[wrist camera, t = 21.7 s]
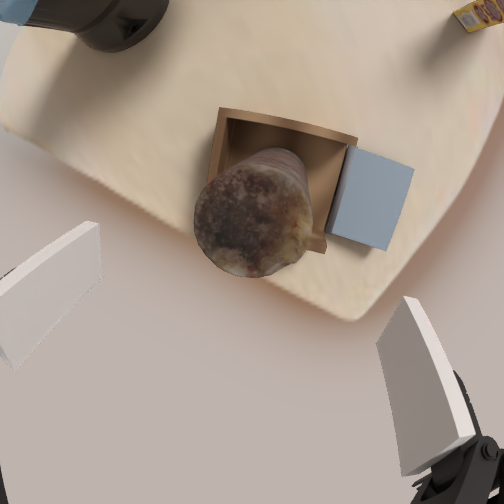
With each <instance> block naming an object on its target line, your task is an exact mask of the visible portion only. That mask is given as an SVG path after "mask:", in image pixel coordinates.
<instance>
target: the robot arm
mask: <svg viewBox="0 0 504 504" xmlns="http://www.w3.org/2000/svg"><path fill="white" fill-rule="evenodd" d="M168 3H169V0H0V21H3V22H7V23H14V24H17V25H18V26H32V27H41V28H48V29H55V30H61V31H67V32H71V33H74V34H75V35H76V36H77V37H79V38H80V39H81V40H82V41H83V42H84V43H85V44H86V45H88V46H89V47H91V48H93V49H95V50H99V51H103V52H118V51H121V50H124V49H127V48H129V47H131V46H133V45H135V44H136V43H138V42H139V41H141V40H142V39H143V38H145V37H146V36H147V35H148V34H149V33H150V32H151V31H152V30H153V29H154V28H155V27H156V25H157V24H158V23H159V21H160V20H161V19H162V17H163V15H164V13H165V11H166V9H167V6H168ZM103 276H104V275H103V266H102V257H101V245H100V231H99V224H98V223H94V222H90V221H85V222H84V223H82V224H81V225H79V226H77V227H75V228H74V229H72V230H71V231H69V232H67V233H66V234H64V235H63V236H61V237H60V238H58V239H57V240H55V241H54V242H52V243H51V244H49V245H48V246H46V247H45V248H43V249H42V250H40V251H39V252H37V253H36V254H35V255H33V256H32V257H30V258H29V259H28V260H26V261H25V262H24V263H22V264H21V265H19V266H18V267H16V268H14V269H12V270H11V271H10V272H8V273H7V274H6V275H4V278H1V279H0V355H1V357H2V359H3V361H4V362H5V363H6V364H7V365H9V366H10V367H11V368H12V369H13V370H15V371H16V370H17V369H18V368H19V367H20V366H21V364H22V363H23V362H24V361H25V359H26V358H27V357H28V356H29V355H30V354H31V352H32V351H33V350H34V349H35V347H37V346H38V344H39V343H40V342H41V341H42V340H43V338H45V336H46V335H47V334H48V333H49V332H50V331H51V330H52V329H53V328H54V326H55V325H56V324H57V323H58V322H59V321H60V320H61V319H62V318H63V317H64V316H65V315H66V314H67V313H68V312H69V311H70V309H72V307H74V306H75V304H77V303H78V302H79V300H80V299H81V298H82V297H83V296H84V295H85V294H86V293H88V292H89V290H90V289H92V288H93V287H94V286H95V285H96V284H97V283H98V282H99V281H100V280H101V279H102V278H103ZM376 345H377V349H378V353H379V357H380V360H381V365H382V369H383V373H384V377H385V382H386V386H387V391H388V395H389V400H390V405H391V409H392V415H393V420H394V426H395V432H396V438H397V444H398V451H399V458H400V467H401V476H402V477H403V476H410V475H416V474H419V473H421V472H423V471H425V470H426V469H428V468H429V467H431V471H432V472H431V473H430V474H428V475H427V476H425V477H423V478H421V479H419V480H418V481H416V482H414V484H413V485H412V487H415V486H417V485H418V484H421V483H422V485H421V486H420V487H418V488H417V490H418V492H417V494H416V495H415V497H414V499H413V500H412V502H411V504H504V449H500V448H499V447H498V445H497V443H496V441H495V440H494V439H493V438H491V437H489V436H482V434H481V431H480V427H479V425H478V421H477V419H476V416H475V413H474V410H473V407H472V404H471V403H470V399H469V396H468V394H466V392H467V391H466V389H465V386H464V384H463V382H462V380H461V379H460V377H459V376H458V375H457V373H456V372H455V371H454V370H452V368H451V365H450V363H449V361H448V359H447V357H446V354H445V352H444V350H443V348H442V346H441V344H440V342H439V340H438V337H437V336H436V333H435V331H434V329H433V328H432V326H431V323H430V322H429V320H428V318H427V316H426V314H425V312H424V310H423V308H422V307H421V305H420V303H419V301H418V299H415V298H411V297H406V296H403V298H402V299H401V301H400V303H399V305H398V307H397V308H396V311H395V312H394V314H393V316H392V318H391V319H390V321H389V323H388V325H387V326H386V328H385V330H384V332H383V333H382V335H381V337H380V338H379V340H378V341H377V343H376ZM498 487H500V488H499V494H497V495H495V496H493V497H492V498H490V499H488V497H489V494H490V492H492V491H493V490H495V489H496V488H498ZM0 504H8V500H7V496H6V492H5V488H4V483H3V478H2V473H1V467H0Z"/></svg>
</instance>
